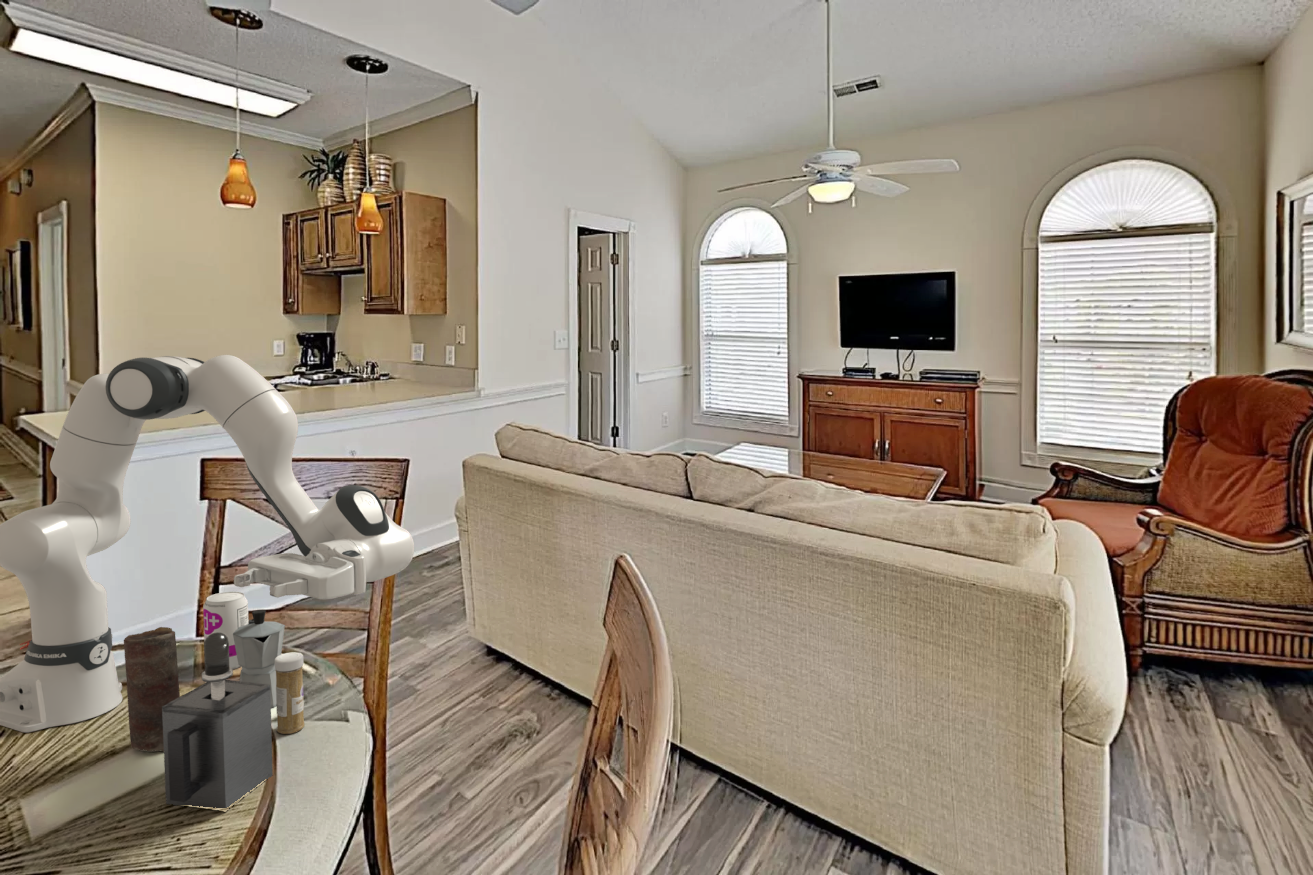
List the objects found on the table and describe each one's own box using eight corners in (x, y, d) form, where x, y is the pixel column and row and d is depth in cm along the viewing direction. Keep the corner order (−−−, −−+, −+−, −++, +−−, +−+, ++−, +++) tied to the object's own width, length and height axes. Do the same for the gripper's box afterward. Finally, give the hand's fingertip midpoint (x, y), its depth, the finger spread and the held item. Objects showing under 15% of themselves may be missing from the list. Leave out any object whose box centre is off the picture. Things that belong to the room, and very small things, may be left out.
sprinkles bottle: (306, 730, 132) (305, 657, 131) (277, 737, 130) (276, 663, 128) (302, 720, 136) (301, 649, 135) (274, 726, 133) (273, 654, 132)
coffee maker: (291, 709, 140) (289, 616, 138) (238, 720, 135) (235, 624, 133) (280, 680, 152) (278, 595, 151) (230, 690, 147) (228, 602, 146)
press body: (147, 816, 107) (143, 716, 105) (216, 767, 119) (213, 678, 118) (209, 825, 105) (205, 724, 103) (272, 775, 118) (270, 684, 116)
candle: (125, 760, 121) (119, 642, 119) (132, 740, 127) (127, 627, 125) (180, 750, 124) (176, 635, 122) (185, 731, 131) (180, 621, 129)
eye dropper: (178, 782, 110) (173, 639, 108) (217, 756, 118) (212, 622, 116) (224, 788, 109) (219, 644, 107) (260, 761, 117) (256, 626, 114)
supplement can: (218, 675, 154) (216, 605, 152) (197, 666, 158) (195, 597, 157) (257, 662, 161) (255, 595, 159) (236, 654, 165) (234, 588, 164)
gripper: (293, 540, 133) (215, 557, 121) (370, 557, 122) (293, 577, 111) (295, 575, 133) (217, 595, 121) (371, 594, 123) (294, 618, 111)
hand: (254, 586), depth 116 cm, fingers open, 8 cm apart
